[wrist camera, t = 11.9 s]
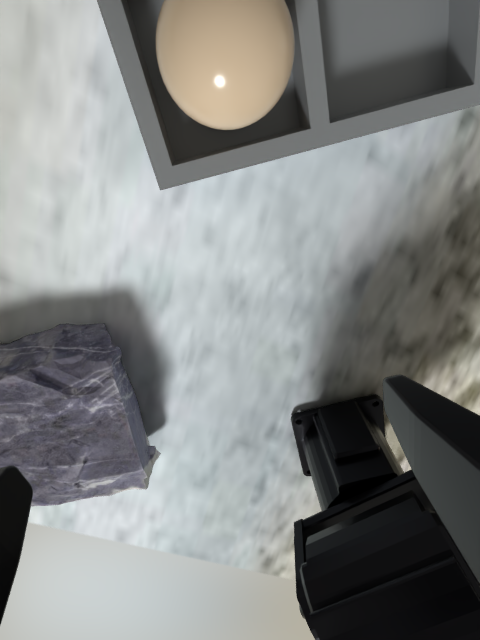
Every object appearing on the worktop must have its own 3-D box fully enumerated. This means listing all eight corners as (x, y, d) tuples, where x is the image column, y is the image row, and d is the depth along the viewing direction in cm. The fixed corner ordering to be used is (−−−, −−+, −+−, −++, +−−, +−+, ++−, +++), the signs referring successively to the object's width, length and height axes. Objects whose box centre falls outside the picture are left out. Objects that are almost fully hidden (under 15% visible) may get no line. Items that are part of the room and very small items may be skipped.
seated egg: (280, 112, 17) (320, 110, 11) (186, 138, 17) (176, 149, 11) (260, -12, 14) (295, -98, 9) (153, 19, 15) (119, -45, 9)
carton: (600, 64, 17) (657, 56, 15) (165, 181, 18) (160, 190, 16) (651, -180, 13) (737, -238, 11) (101, -18, 14) (83, -42, 12)
